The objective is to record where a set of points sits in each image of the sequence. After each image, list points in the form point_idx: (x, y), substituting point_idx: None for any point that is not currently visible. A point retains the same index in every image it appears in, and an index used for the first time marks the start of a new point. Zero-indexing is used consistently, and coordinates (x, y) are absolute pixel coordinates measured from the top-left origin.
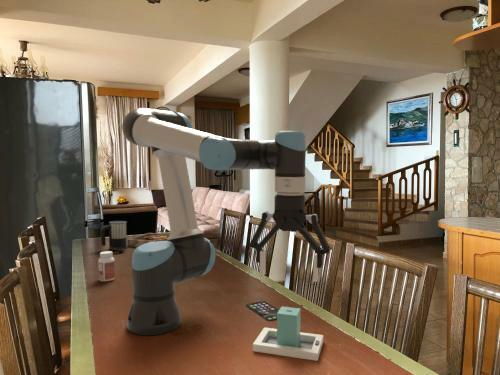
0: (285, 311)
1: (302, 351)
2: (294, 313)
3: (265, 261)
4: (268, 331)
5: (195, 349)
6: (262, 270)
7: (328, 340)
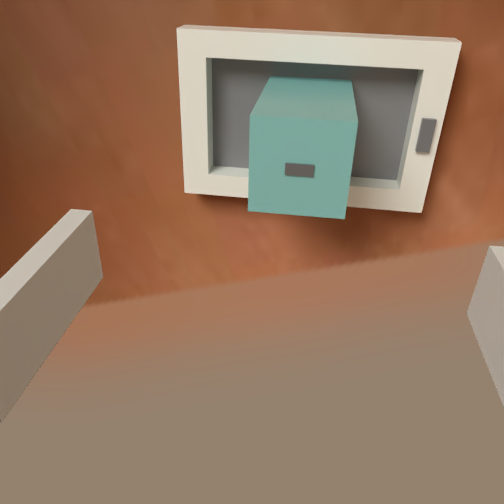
0: (282, 180)
1: (366, 207)
2: (330, 195)
3: (44, 266)
4: (206, 64)
5: (20, 208)
6: (82, 302)
7: (482, 13)
